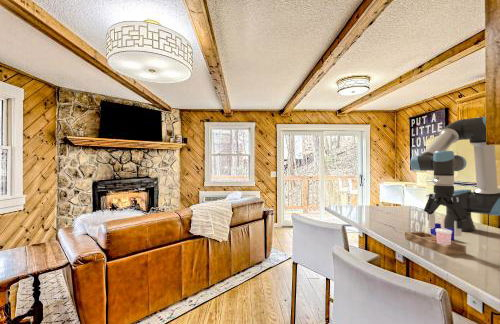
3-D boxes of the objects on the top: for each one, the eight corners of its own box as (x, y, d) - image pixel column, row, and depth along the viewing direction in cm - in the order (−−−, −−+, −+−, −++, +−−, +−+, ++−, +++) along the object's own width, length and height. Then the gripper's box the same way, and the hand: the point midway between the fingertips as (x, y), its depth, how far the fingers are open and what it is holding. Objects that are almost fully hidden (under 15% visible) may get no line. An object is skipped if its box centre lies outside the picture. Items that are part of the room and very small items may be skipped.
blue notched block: (430, 233, 145) (430, 223, 145) (438, 234, 145) (438, 223, 145) (445, 240, 133) (445, 228, 133) (454, 240, 133) (454, 228, 133)
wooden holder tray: (405, 238, 135) (405, 232, 135) (422, 238, 137) (422, 231, 137) (445, 254, 112) (445, 246, 112) (466, 253, 113) (466, 245, 113)
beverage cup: (436, 246, 123) (435, 217, 123) (452, 249, 119) (452, 218, 119) (434, 250, 118) (434, 219, 118) (451, 253, 114) (451, 221, 114)
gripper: (415, 182, 130) (415, 225, 130) (462, 187, 105) (462, 240, 105) (428, 182, 131) (429, 224, 131) (478, 187, 106) (478, 239, 106)
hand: (444, 231), depth 118 cm, fingers open, 13 cm apart
